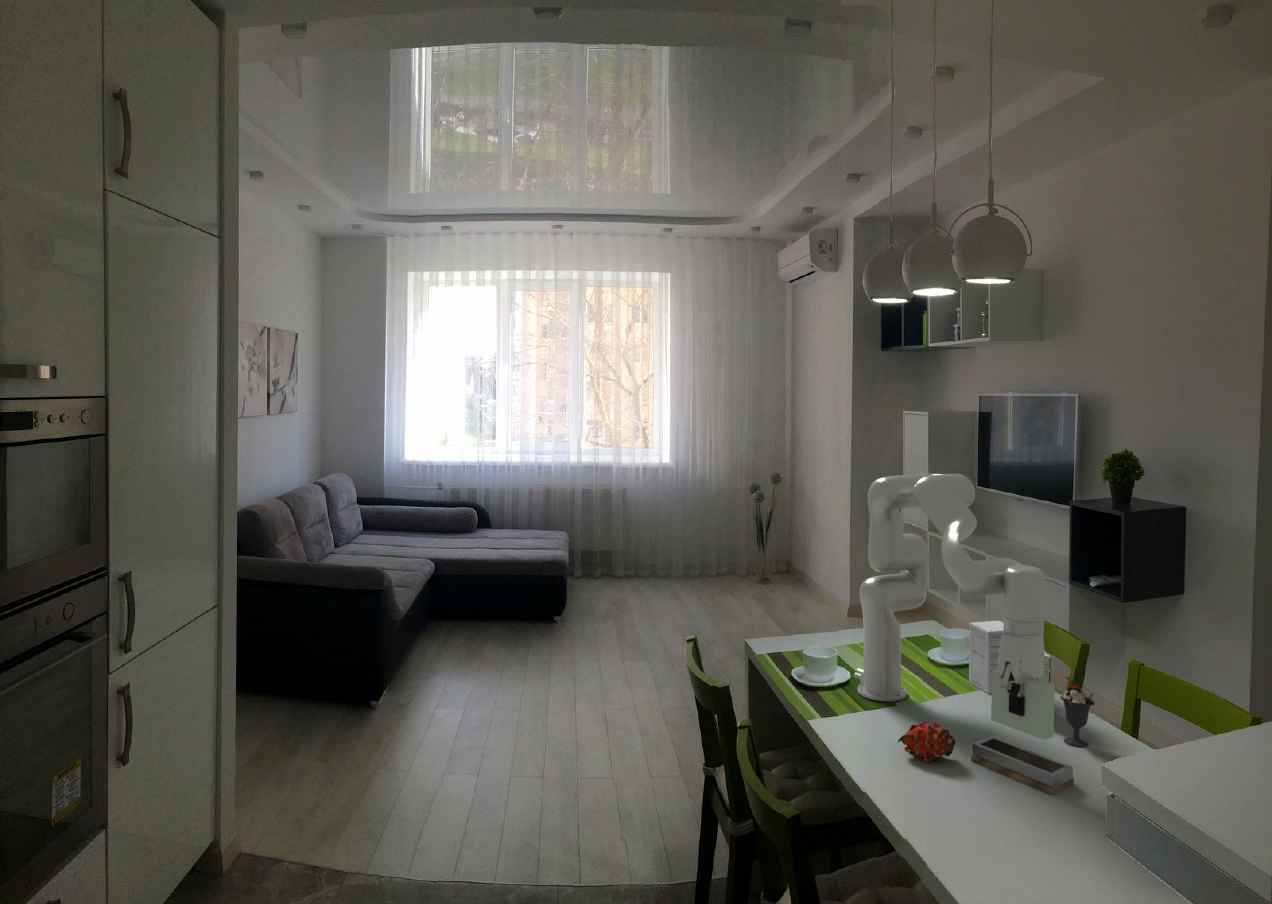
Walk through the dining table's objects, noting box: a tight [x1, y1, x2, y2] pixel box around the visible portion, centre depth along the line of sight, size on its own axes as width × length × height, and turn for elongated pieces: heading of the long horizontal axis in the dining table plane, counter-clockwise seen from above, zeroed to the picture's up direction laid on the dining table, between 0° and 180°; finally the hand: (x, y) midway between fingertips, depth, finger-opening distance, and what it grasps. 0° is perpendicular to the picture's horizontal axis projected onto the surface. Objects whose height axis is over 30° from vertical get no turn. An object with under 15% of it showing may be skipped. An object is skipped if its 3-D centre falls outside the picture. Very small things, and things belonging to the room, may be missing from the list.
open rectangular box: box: [970, 735, 1075, 796], centre depth 169 cm, size 18×8×4 cm, turn 33°
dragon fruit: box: [897, 721, 957, 762], centre depth 176 cm, size 8×8×12 cm
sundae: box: [1060, 676, 1095, 748], centre depth 181 cm, size 7×7×15 cm
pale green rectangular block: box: [990, 669, 1056, 741], centre depth 168 cm, size 12×3×11 cm, turn 33°
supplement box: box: [968, 620, 1004, 695], centre depth 216 cm, size 10×9×17 cm
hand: (1021, 711), depth 168 cm, fingers closed on pale green rectangular block, 3 cm apart
